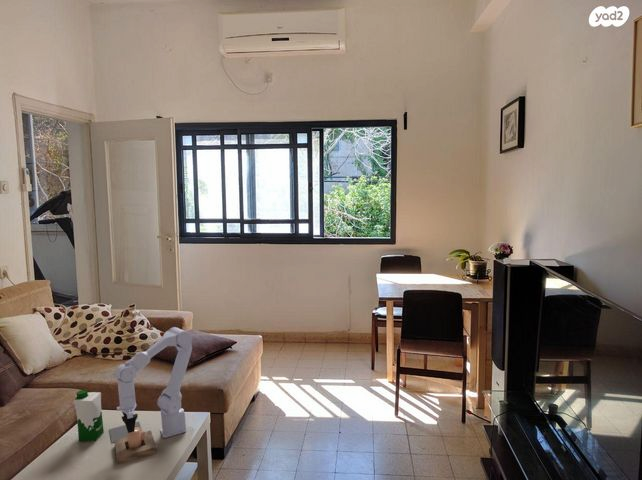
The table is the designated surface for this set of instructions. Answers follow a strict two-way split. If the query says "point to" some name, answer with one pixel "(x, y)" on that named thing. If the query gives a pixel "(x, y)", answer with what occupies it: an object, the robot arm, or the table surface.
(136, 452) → the block
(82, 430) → the milk carton
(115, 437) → the grey square plate
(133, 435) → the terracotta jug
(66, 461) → the table surface
